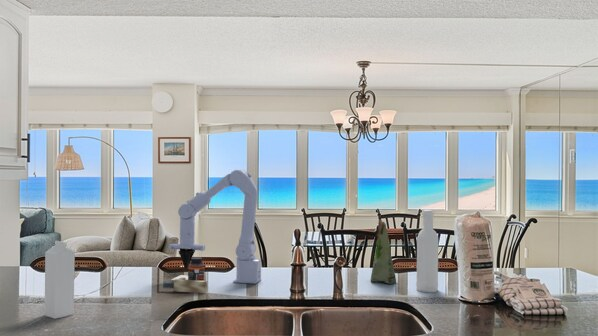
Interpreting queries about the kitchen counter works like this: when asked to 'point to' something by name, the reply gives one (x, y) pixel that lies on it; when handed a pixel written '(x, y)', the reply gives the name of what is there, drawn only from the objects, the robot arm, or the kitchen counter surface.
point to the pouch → (383, 258)
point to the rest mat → (180, 277)
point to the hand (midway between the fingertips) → (186, 267)
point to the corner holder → (190, 285)
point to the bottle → (427, 255)
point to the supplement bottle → (196, 269)
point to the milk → (59, 281)
